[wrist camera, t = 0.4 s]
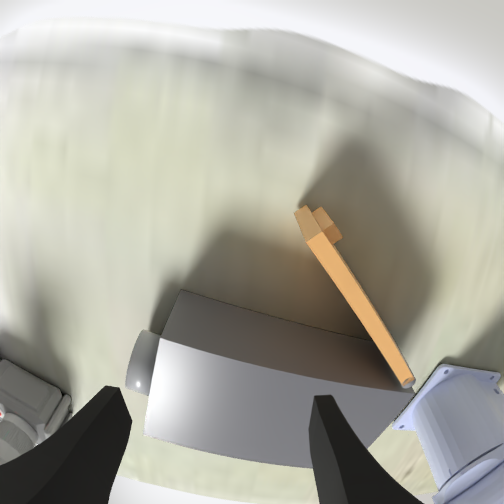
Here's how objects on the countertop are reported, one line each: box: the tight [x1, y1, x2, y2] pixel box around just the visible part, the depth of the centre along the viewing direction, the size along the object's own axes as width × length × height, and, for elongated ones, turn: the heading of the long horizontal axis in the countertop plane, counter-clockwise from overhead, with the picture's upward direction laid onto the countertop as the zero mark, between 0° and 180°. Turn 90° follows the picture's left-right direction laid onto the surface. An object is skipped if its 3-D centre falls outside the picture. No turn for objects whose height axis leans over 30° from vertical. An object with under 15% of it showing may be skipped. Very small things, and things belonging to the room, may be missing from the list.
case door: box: [294, 205, 416, 388], centre depth 17 cm, size 12×1×5 cm, turn 37°
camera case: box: [126, 290, 415, 468], centre depth 20 cm, size 17×9×5 cm, turn 72°
